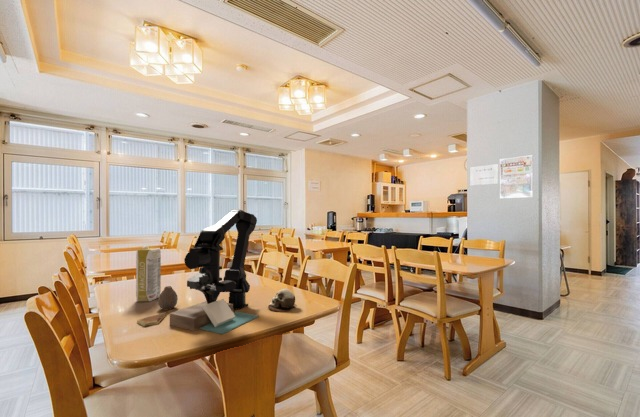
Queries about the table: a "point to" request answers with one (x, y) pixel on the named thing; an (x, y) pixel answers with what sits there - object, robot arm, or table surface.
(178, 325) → the brick
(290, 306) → the skull
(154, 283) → the juice carton
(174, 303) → the vase
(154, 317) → the shard
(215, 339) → the table surface
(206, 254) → the robot arm
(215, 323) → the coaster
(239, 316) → the mat
